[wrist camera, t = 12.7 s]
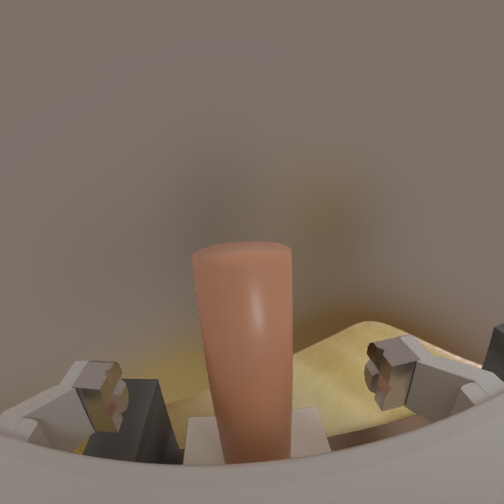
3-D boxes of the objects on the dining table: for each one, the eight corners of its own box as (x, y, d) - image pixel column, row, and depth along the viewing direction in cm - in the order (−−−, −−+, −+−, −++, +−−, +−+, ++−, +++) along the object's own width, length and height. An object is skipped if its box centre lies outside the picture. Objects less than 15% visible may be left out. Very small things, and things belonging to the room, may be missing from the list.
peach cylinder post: (191, 546, 9) (85, 305, 6) (197, 449, 16) (155, 237, 13) (340, 532, 10) (406, 281, 6) (312, 439, 16) (321, 225, 13)
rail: (129, 558, 9) (61, 490, 7) (147, 464, 17) (112, 378, 15) (536, 457, 11) (586, 369, 9) (486, 402, 18) (515, 319, 16)
